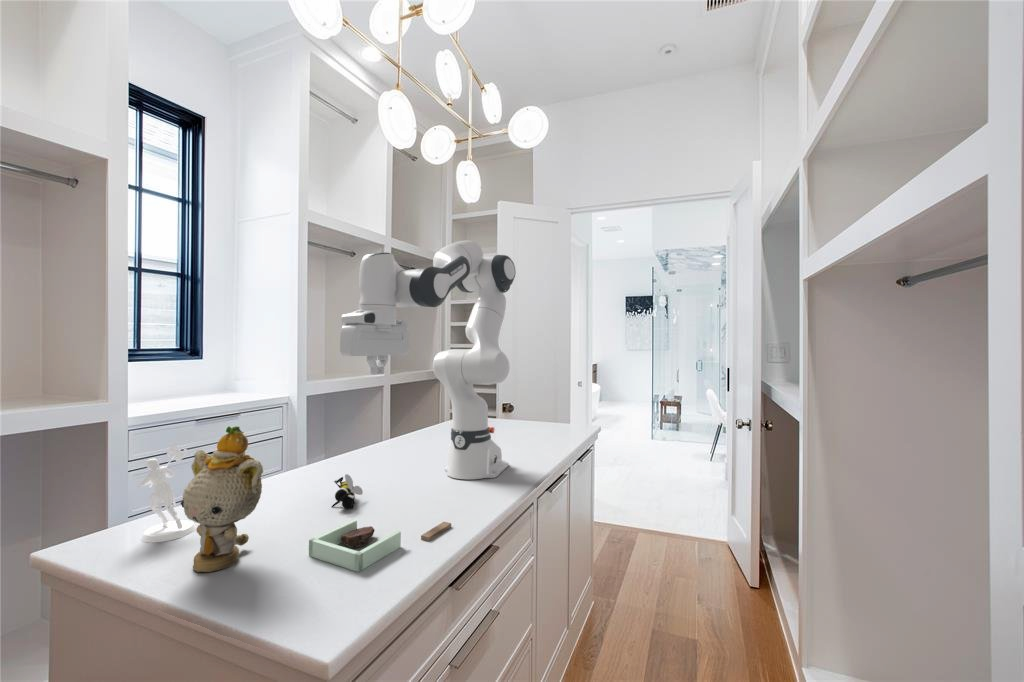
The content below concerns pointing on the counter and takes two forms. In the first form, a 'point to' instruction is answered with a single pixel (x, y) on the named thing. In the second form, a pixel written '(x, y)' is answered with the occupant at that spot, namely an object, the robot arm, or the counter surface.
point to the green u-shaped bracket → (348, 558)
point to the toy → (346, 492)
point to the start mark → (435, 531)
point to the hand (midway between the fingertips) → (377, 374)
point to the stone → (358, 537)
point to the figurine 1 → (164, 501)
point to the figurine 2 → (222, 499)
